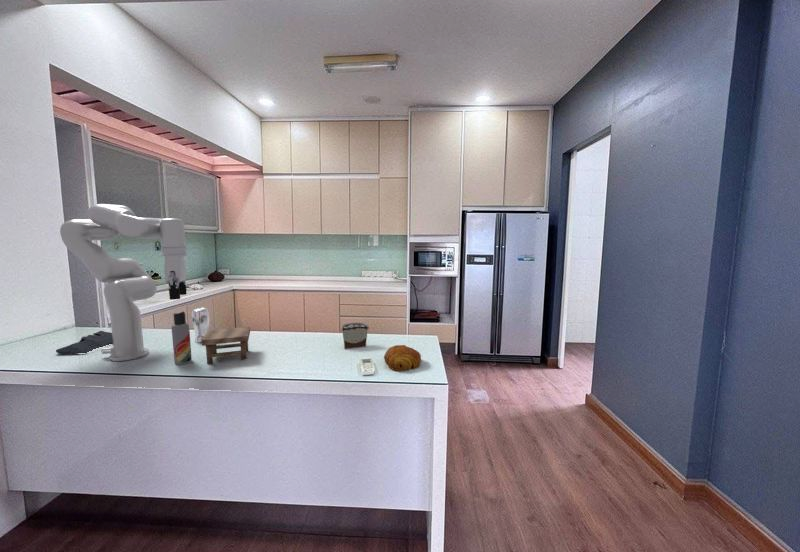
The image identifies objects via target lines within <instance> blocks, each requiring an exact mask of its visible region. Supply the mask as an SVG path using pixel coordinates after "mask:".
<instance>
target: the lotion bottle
mask: <svg viewBox="0 0 800 552" xmlns="http://www.w3.org/2000/svg"><path fill="white" fill-rule="evenodd" d="M172 315H173V323H172V324H171V336H172V337H171V338H172V339H171V340H172V349H173V361H174V365H186V364H189V363H191V362H192V359H193V357H192V347H191V346H192V345H191V336H190V335H191V334H190V333H191V332H190V324H189V323H188V322H186V321H187V319H186V312H185V311H177V312H174V313H173V314H172Z"/></svg>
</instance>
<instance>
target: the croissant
mask: <svg viewBox="0 0 800 552" xmlns="http://www.w3.org/2000/svg"><path fill="white" fill-rule="evenodd" d="M383 360H384V362H385V365H386V366H387V367H388V368H389V369H391V370H393V371H398V372H401V371H408V370H409V371H410V369H411V370H415V369H417V368H418V367H419V366H420V364H421V362H422V355H421V353H420V352H419V351H418V350H416V349H414V348H413V347H410V346H407V345H405V344H399V345H393V346H390V347H389V348H388V349H387V351H386V352H385V353H384V356H383Z"/></svg>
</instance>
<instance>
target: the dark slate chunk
mask: <svg viewBox="0 0 800 552" xmlns="http://www.w3.org/2000/svg"><path fill="white" fill-rule="evenodd" d="M112 343H113V338H112V332H110V331H109V332H108V331H104V330H99V331H97V332H95V333H93V334H88V335H87V336H81V339H80V340H79V341H78V342H74V343H72V344H69V345H65V346H64V347H60V348H57V349H56V350H55V352H56V353H57V354H66V353H67V354H68V353H69V354H70V353H72V355H76V354H75V353H87V352H89V351H92V350H93V349H96V348H99V347H103V346H106V345H109V344H112ZM112 345H113V344H112ZM109 346H110V345H109Z"/></svg>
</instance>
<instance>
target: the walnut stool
mask: <svg viewBox="0 0 800 552" xmlns="http://www.w3.org/2000/svg"><path fill="white" fill-rule="evenodd" d="M250 334H251V326H243V327H231V328H220V329H208V331H207V333H206V334H205V336H204V337H203V339H202V340H201V342H202V343H201V346H205V351H206V353H205V354H206V364H207V365H212V364H214V358H221V357H231V356H240V360H241V361H246V360H247V359H248V354H247V352H249V338H250V336H251V335H250ZM229 348H240V350H233V351H224V352H218V350H220V349H221V350H222V349H229Z"/></svg>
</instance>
